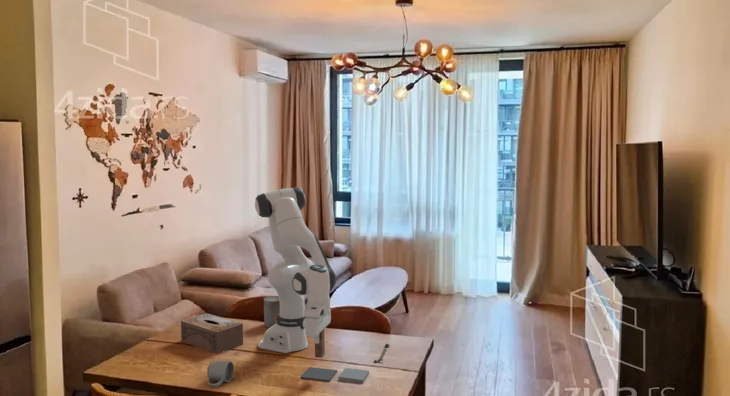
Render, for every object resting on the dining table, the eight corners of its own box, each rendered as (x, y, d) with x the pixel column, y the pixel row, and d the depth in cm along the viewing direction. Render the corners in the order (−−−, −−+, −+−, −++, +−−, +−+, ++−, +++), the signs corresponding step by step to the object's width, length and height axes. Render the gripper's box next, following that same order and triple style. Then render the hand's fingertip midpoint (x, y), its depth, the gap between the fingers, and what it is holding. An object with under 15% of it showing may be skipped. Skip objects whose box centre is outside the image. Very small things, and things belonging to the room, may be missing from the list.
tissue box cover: (243, 345, 259) (242, 323, 258) (217, 354, 247) (217, 332, 246) (206, 333, 274) (206, 313, 273) (181, 341, 263) (180, 320, 262)
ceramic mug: (215, 375, 225) (214, 356, 224) (234, 377, 223) (234, 358, 222) (202, 387, 215) (201, 367, 214) (222, 389, 213) (221, 369, 212)
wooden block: (315, 357, 224) (314, 322, 223) (317, 354, 227) (317, 320, 225) (322, 357, 223) (321, 323, 222) (324, 355, 226) (324, 320, 225)
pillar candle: (286, 322, 290) (285, 293, 289) (279, 328, 281) (278, 298, 279) (268, 321, 292) (268, 292, 291) (260, 327, 283) (260, 297, 281)
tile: (345, 372, 230) (338, 381, 221) (345, 367, 230) (338, 376, 221) (369, 375, 227) (363, 384, 219) (369, 370, 227) (363, 379, 218)
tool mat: (300, 378, 223) (300, 376, 223) (309, 368, 232) (309, 366, 232) (329, 381, 220) (329, 380, 220) (337, 371, 229) (337, 370, 229)
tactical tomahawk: (388, 366, 237) (389, 364, 237) (373, 363, 239) (373, 361, 239) (398, 348, 258) (399, 345, 257) (384, 345, 259) (384, 343, 259)
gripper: (319, 299, 234) (320, 332, 235) (302, 313, 214) (302, 349, 216) (334, 300, 232) (334, 333, 234) (318, 314, 213) (318, 350, 214)
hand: (319, 341), depth 224 cm, fingers closed on wooden block, 3 cm apart
